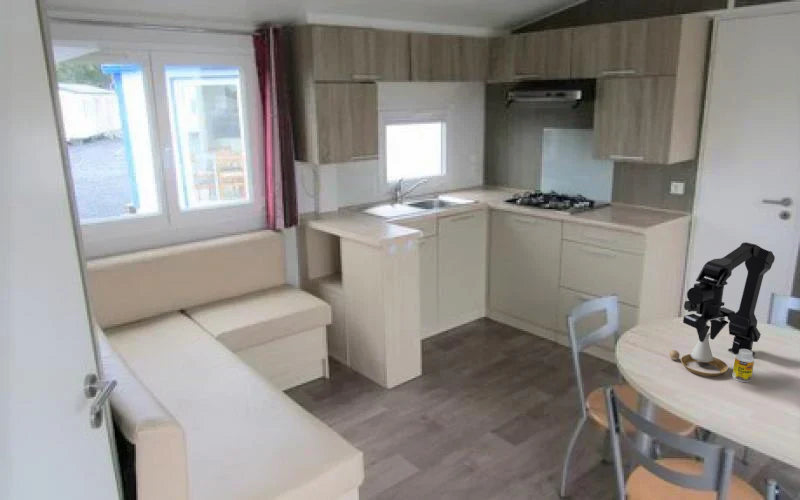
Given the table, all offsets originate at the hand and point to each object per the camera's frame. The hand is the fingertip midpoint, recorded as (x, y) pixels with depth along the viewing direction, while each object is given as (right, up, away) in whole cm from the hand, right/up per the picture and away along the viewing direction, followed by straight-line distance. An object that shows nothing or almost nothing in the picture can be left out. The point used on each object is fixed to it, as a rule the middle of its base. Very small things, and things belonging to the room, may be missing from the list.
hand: (706, 340), depth 203 cm
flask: (+1, -7, +5) cm, 9 cm away
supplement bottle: (+9, -12, -5) cm, 16 cm away
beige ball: (-7, -7, +9) cm, 13 cm away
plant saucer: (0, -11, +3) cm, 11 cm away
